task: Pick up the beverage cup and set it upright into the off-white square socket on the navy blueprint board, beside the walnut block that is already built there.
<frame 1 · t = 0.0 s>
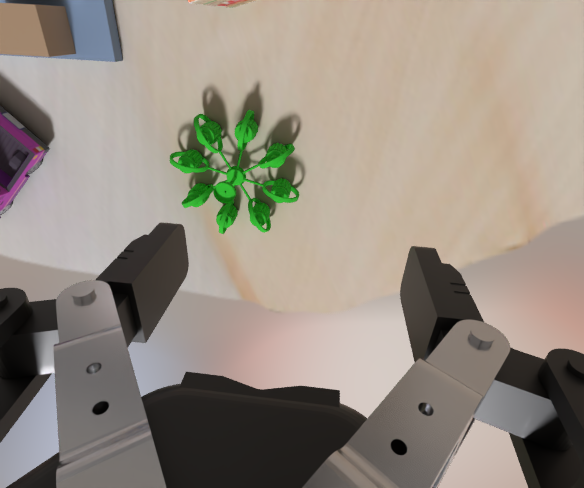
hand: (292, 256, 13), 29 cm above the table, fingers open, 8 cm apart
chandelier: (240, 169, 43), on the table
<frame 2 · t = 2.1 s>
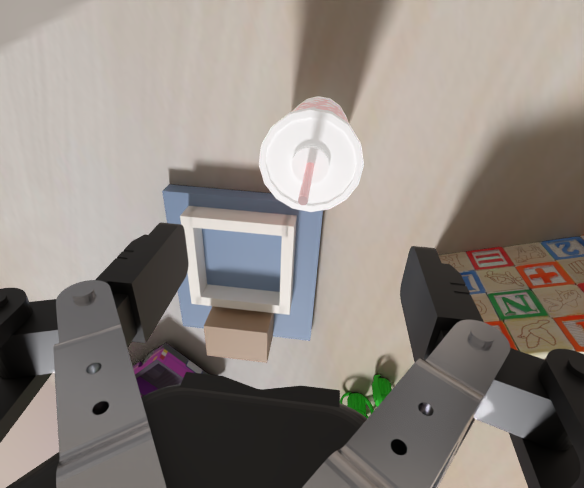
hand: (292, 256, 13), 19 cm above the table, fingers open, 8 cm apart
blueprint board: (247, 264, 37), on the table
toy truck: (162, 378, 48), on the table
chandelier: (395, 404, 46), on the table
beverage cup: (318, 126, 29), on the table
stack of blocks: (553, 264, 33), on the table
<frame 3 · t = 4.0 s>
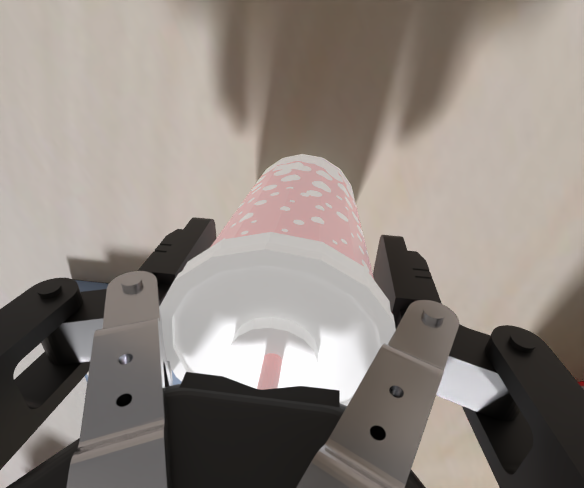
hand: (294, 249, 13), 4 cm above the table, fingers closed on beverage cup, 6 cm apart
blueprint board: (202, 385, 24), on the table
beverage cup: (304, 201, 17), on the table, touching gripper
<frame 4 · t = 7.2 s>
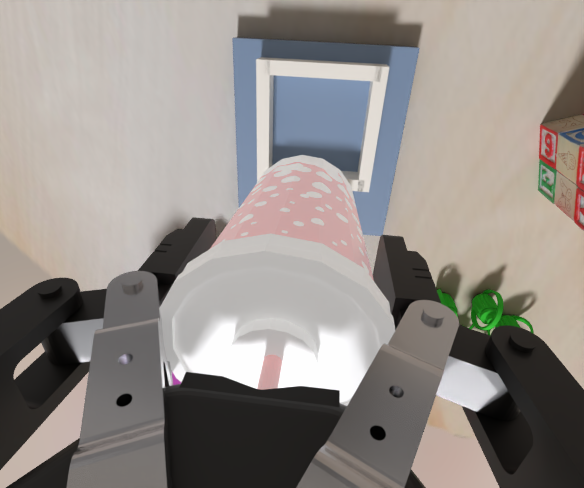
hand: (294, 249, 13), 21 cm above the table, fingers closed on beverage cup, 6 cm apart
blueprint board: (316, 143, 33), on the table
chandelier: (452, 328, 43), on the table
beverage cup: (304, 202, 17), point 17 cm above the table, touching gripper
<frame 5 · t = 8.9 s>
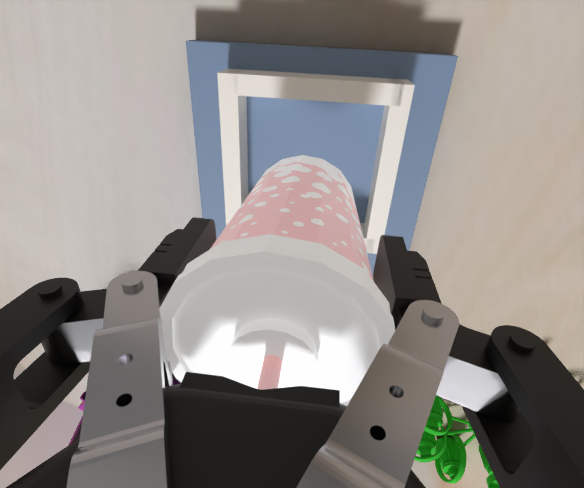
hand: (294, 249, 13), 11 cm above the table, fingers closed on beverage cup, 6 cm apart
blueprint board: (309, 183, 24), on the table
chandelier: (475, 404, 34), on the table
beverage cup: (304, 202, 17), point 7 cm above the table, touching gripper
when the fingers open (6 cm above the table, at t = 10.5 s): beverage cup stays where it is, resting on blueprint board.
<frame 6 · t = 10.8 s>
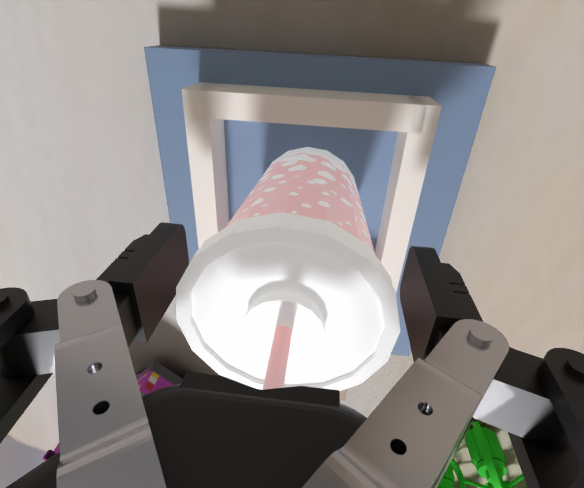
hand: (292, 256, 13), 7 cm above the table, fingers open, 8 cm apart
blueprint board: (304, 218, 20), on the table
toy truck: (157, 413, 32), on the table
chandelier: (489, 461, 30), on the table
beverage cup: (308, 192, 18), point 1 cm above the table, touching blueprint board
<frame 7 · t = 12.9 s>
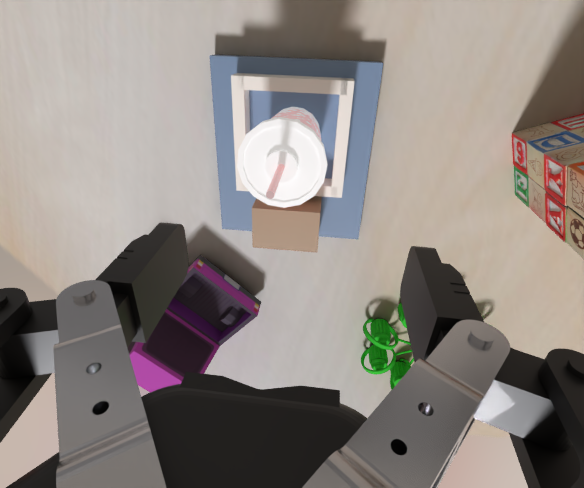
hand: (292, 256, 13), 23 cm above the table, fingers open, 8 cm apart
blueprint board: (293, 152, 35), on the table
toy truck: (197, 306, 46), on the table
chandelier: (418, 333, 45), on the table
beverage cup: (294, 133, 32), point 1 cm above the table, touching blueprint board
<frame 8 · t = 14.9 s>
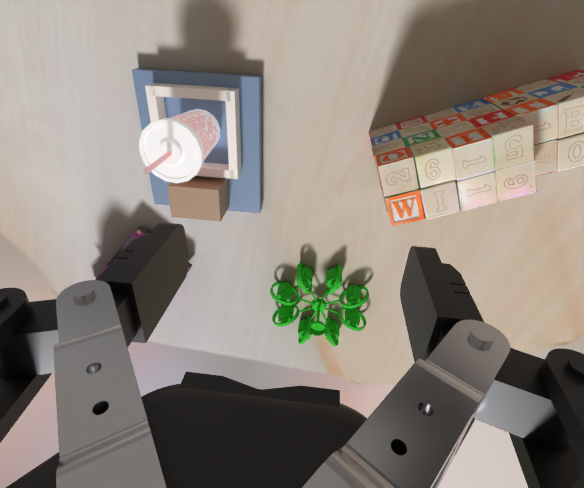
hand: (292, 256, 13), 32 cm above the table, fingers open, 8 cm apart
blueprint board: (205, 143, 44), on the table
chandelier: (319, 295, 55), on the table
beverage cup: (201, 129, 42), point 1 cm above the table, touching blueprint board
stack of blocks: (468, 129, 41), on the table
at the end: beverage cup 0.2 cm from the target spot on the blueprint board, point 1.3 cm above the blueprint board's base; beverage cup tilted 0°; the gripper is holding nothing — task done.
